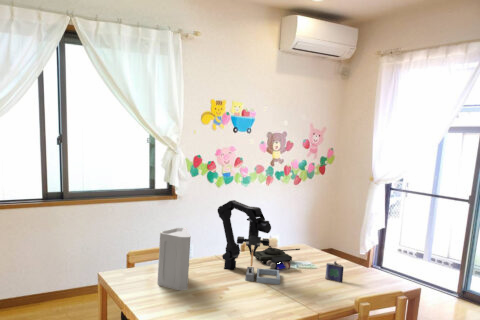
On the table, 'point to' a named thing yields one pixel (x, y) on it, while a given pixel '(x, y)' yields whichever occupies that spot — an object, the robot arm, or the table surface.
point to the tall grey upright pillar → (174, 258)
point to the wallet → (334, 272)
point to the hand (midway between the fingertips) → (252, 255)
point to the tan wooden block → (251, 257)
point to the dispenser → (250, 274)
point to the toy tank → (271, 254)
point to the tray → (269, 272)
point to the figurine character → (285, 263)
